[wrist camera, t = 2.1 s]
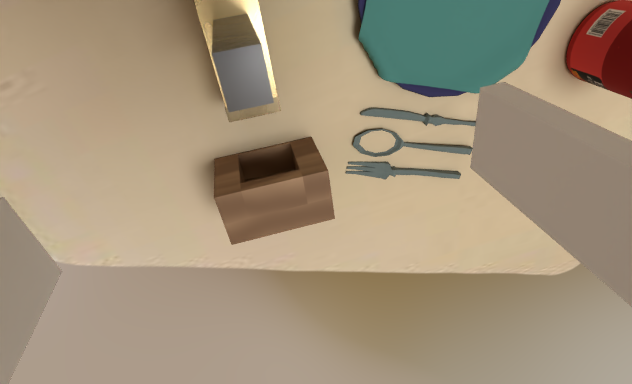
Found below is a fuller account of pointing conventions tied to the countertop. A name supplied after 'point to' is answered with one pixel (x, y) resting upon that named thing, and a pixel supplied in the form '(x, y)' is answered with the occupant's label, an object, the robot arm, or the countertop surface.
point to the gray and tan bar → (239, 56)
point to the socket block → (272, 190)
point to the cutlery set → (443, 57)
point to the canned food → (604, 48)
